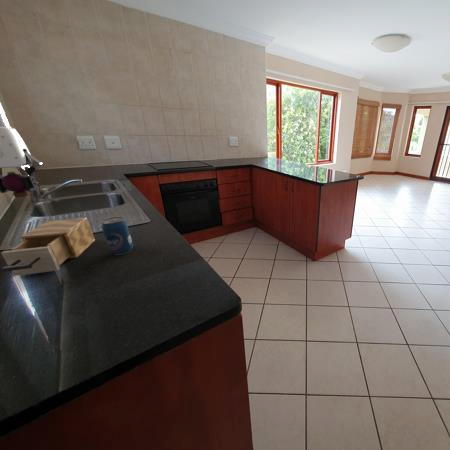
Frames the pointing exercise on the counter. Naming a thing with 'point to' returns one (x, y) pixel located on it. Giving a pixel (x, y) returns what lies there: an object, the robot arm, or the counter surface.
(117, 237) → the soda can
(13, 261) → the drawer
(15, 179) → the mangosteen
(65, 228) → the cabinet
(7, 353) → the counter surface
